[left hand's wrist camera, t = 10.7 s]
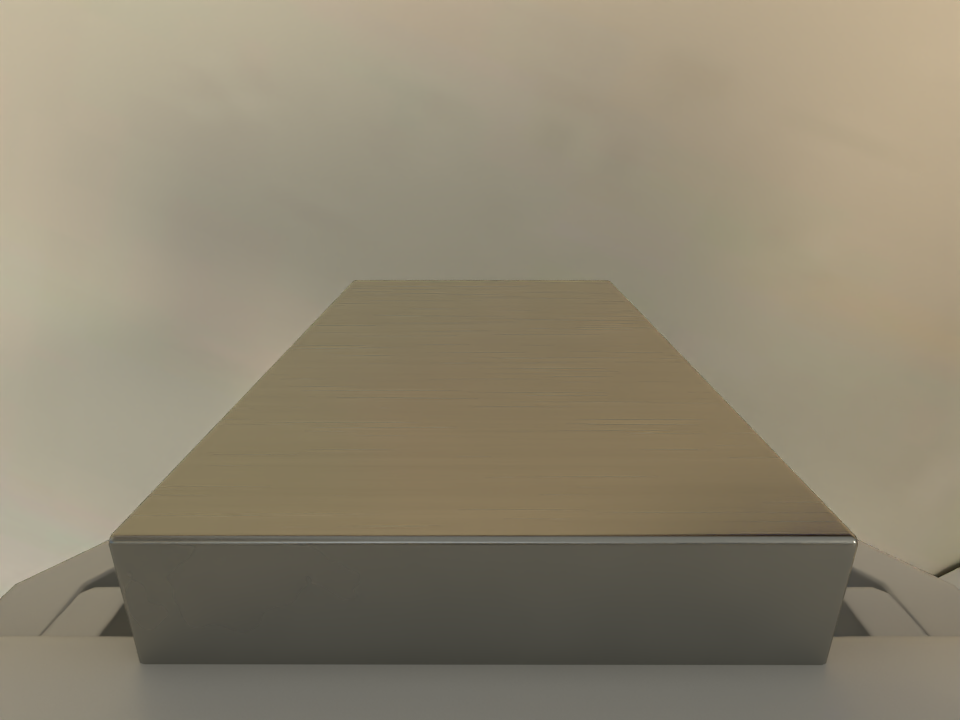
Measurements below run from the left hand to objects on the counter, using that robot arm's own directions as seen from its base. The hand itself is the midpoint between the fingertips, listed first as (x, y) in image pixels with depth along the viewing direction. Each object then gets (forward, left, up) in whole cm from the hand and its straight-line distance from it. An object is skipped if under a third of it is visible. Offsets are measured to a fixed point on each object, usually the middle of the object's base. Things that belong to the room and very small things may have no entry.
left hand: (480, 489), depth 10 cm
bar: (+6, +6, -3) cm, 9 cm away
